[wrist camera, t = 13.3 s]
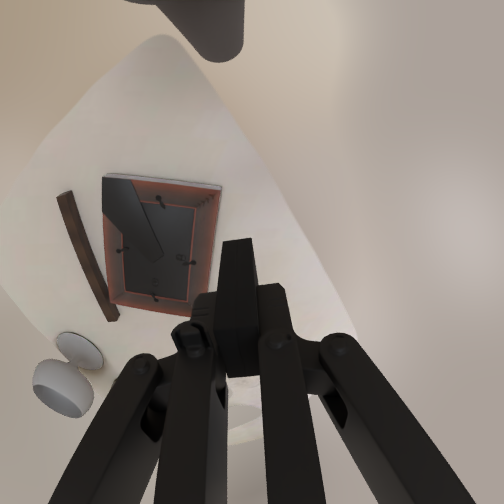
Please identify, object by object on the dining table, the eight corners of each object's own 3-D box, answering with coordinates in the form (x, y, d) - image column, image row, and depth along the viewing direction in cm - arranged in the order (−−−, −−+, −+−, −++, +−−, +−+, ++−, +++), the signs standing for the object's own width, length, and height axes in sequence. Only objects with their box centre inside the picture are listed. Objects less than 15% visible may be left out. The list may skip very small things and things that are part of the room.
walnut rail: (62, 193, 37) (55, 197, 35) (71, 190, 37) (65, 194, 35) (111, 314, 48) (107, 321, 47) (120, 314, 48) (116, 321, 47)
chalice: (74, 370, 57) (55, 417, 44) (44, 329, 51) (16, 377, 38) (117, 370, 57) (100, 424, 43) (87, 326, 50) (59, 382, 37)
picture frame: (109, 172, 36) (114, 295, 46) (101, 177, 34) (109, 303, 44) (222, 185, 38) (205, 310, 48) (221, 190, 36) (204, 320, 46)
